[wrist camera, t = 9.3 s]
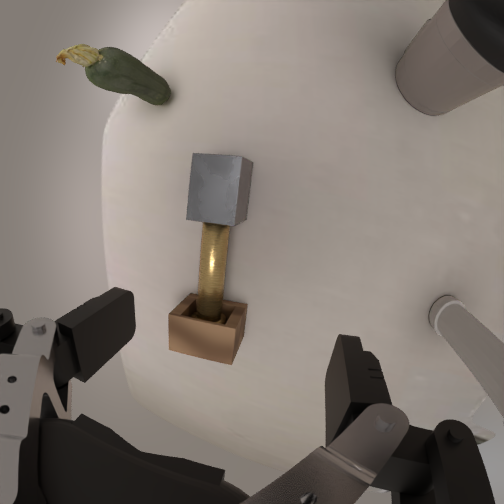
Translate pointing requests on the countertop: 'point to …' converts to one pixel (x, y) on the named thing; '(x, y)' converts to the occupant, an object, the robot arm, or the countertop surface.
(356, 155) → the countertop surface
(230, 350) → the socket
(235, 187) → the sleeve
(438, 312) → the pipe
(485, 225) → the countertop surface
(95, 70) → the vegetable
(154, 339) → the countertop surface
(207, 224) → the tube
